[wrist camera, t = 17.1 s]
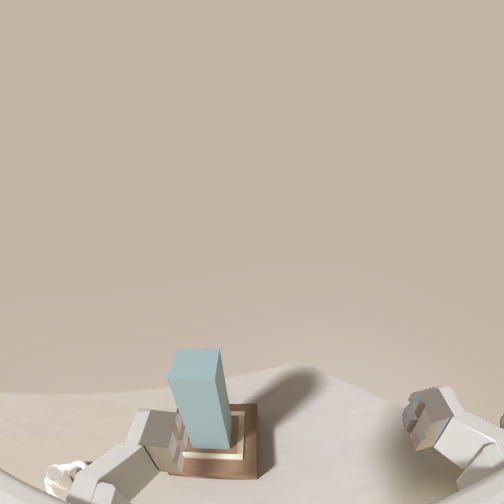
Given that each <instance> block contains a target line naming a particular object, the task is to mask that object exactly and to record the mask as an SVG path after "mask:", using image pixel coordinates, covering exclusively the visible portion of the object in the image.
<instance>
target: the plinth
mask: <svg viewBox="0 0 504 504" xmlns="http://www.w3.org/2000/svg"><path fill="white" fill-rule="evenodd" d="M229 407H230V412H231V418H232V431H231V444H230V449H205V448H193V447H192V444H191V442H190V439H189V436H188V444H187V449H186V450H185V451H184V452H183V453H182V454H183V456H184V458H185V460H184V465H183V470H182V473H172V472H168V474H169V475H176V476H185V477H196V478H211V479H257V458H258V414H257V404H229ZM176 413H179V410H178V408H177V412H176ZM182 424H184V423H183V421H182Z"/></svg>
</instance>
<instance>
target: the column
mask: <svg viewBox="0 0 504 504" xmlns="http://www.w3.org/2000/svg"><path fill="white" fill-rule="evenodd" d="M168 381H169V383H170V387H171V390H172V393H173V396H174V398H175V401H176V404H177V407H178V410H179V413H181V415H182V418H183V420H182V421H183V423H184V425H185V426H186V429H187V433H188V436H189V439H190V442H191V444H192V447H193V448H205V449H230V444H231V431H232V418H231V412H230V407H229V401H228V396H227V390H226V384H225V379H224V373H223V367H222V361H221V355H220V349H177V352H176V355H175V357H174V360H173V363H172V366H171V369H170V372H169V375H168Z"/></svg>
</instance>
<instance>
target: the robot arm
mask: <svg viewBox="0 0 504 504" xmlns="http://www.w3.org/2000/svg"><path fill="white" fill-rule="evenodd" d="M409 402H410V404H409V405H408V406H406V407H405V410H404V412H403V423H404V427H405V429H406V430H407V431H408V432H410V433H411V436H410V441H411V444H412V446H413V449H414V451H415V452H416V451H419V450H423V449H426V448H429V447H432V446H434V448H435V449H437V450H438V451H439V452H440V453H442V454H443V455H444V456H446V457H447V458H448V459H449V460H451V461H452V462H453V463H455V464H456V465H457V466H459V467H460V468H461V469H463V470H464V472H463V473H462V474H461V475H460V476H459V477H458V478H457V480H456V484H457V487H458V489H459V491H458V492H456V493H454V494H451V495H449V496H447V497H444V498H442V499H440V500H437V501H435V502H432V503H430V504H504V415H503V416H502V417H501V420H500V427H498V426H496V425H494V424H492V423H490V422H488V421H486V420H484V419H483V418H481V417H479V416H477V415H475V414H473V413H471V412H469V411H468V412H465V410H464V409H463V407H462V405H461V404H460V402H459V401H458V399H457V397H456V396H455V394H454V393H453V391H452V389H451V388H450V386H449V385H447V384H444V385H441V386H437V387H432V388H429V389H425V390H422V391H418V392H414V393H412V394H411V395H410V397H409ZM182 420H183V418H182V415H181V413H176V412H166V411H157V410H149V409H140V408H139V409H138V411H137V412H136V414H135V417H134V419H133V422H132V424H131V427H130V430H129V432H128V435H127V438H126V441H125V442H120V443H119V444H118V445H116V446H115V447H114V448H112V449H111V450H109V451H108V452H107V453H105V454H104V455H102V456H101V457H100V458H98V459H97V460H95V461H94V462H92V463H91V464H90V465H88V466H87V467H85V468H84V469H82V470H81V471H79V472H78V473H77V474H76V476H75V479H74V481H73V484H72V486H71V488H70V491H69V493H68V496H67V498H66V501H65V500H63V499H60V498H58V497H56V496H53V495H51V494H49V493H47V492H44V491H42V490H40V489H38V488H36V487H34V486H32V485H30V484H28V483H26V482H24V481H22V480H20V479H18V478H16V477H15V476H13V475H11V474H9V473H8V472H6V471H4V470H2V469H0V504H131V503H130V501H131V500H132V499H133V498H134V497H135V496H136V495H137V494H138V493H139V492H140V491H141V490H142V489H143V488H144V487H145V486H146V485H147V484H148V483H149V482H150V481H151V480H152V479H153V478H154V477H155V476H156V475H157V474H158V473H159V471H163V472H172V473H182V470H183V465H184V460H185V458H184V456H183V454H182V453H183V452H184V451H185V450H186V449H187V444H188V433H187V429H186V426H185V425H184V424H182Z"/></svg>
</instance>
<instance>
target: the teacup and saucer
mask: <svg viewBox="0 0 504 504" xmlns="http://www.w3.org/2000/svg"><path fill="white" fill-rule="evenodd" d="M87 466H88V465H87V464H86V463H85V462H84V461H80V460H78V461H75V462H73V463H72V464H62V465H51V466H50V467H49V468H48V469H47V471H46V475H47V478H45V479H44V482H45V484H46V490H47V492H48V493H49V494H51V495H53V496H56V495H55V494H54V492H53V490H52V487H53V488H61V489H63V490H70V488H71V486H72V484H73V481H72V479H71V478H70V476H69V475H68V474H67V473H66V472H65V469H69V473H70V475H71V477H72V478H73V479H75V476H76V474H77V473H78V472H79V471H81V470H82V469H84V468H85V467H87ZM51 482H53V483H54V484H55V485H51ZM56 497H58V496H56ZM58 498H59V497H58ZM60 499H61V498H60ZM63 500H64V499H63ZM65 501H66V500H65Z"/></svg>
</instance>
